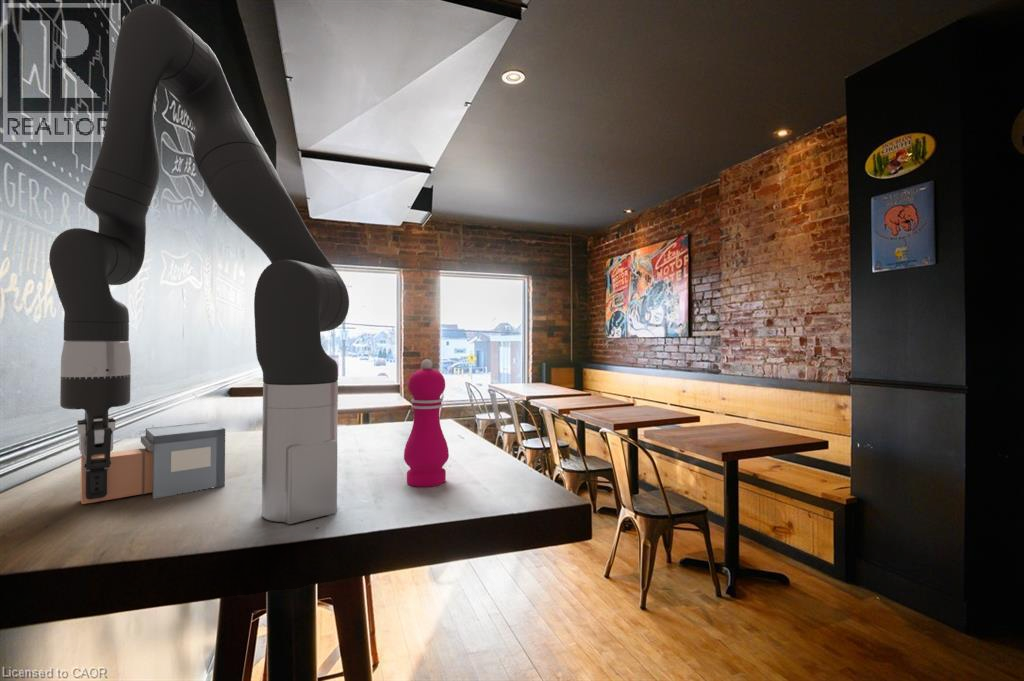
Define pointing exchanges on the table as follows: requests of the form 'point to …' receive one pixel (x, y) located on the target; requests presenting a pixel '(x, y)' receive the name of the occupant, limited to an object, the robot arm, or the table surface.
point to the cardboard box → (123, 474)
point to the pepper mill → (426, 429)
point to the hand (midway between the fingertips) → (95, 493)
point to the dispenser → (186, 457)
